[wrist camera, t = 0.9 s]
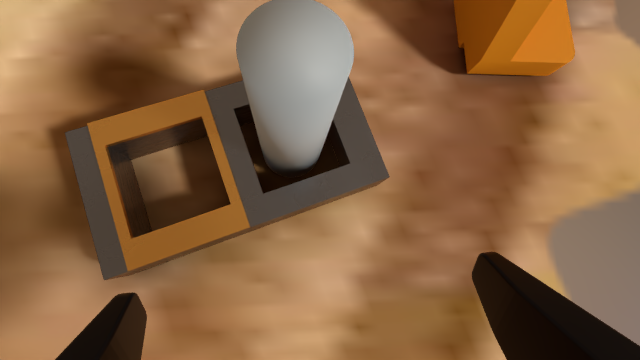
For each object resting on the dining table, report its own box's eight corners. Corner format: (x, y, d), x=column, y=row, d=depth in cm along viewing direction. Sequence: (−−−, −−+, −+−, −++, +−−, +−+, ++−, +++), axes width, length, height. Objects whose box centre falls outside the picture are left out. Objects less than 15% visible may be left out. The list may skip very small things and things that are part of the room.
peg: (327, 166, 24) (371, 84, 12) (273, 185, 23) (258, 119, 11) (308, 115, 24) (330, -15, 12) (254, 132, 24) (220, 13, 12)
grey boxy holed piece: (377, 185, 24) (391, 176, 21) (129, 275, 21) (101, 280, 18) (332, 75, 25) (339, 49, 22) (93, 147, 23) (61, 130, 19)
